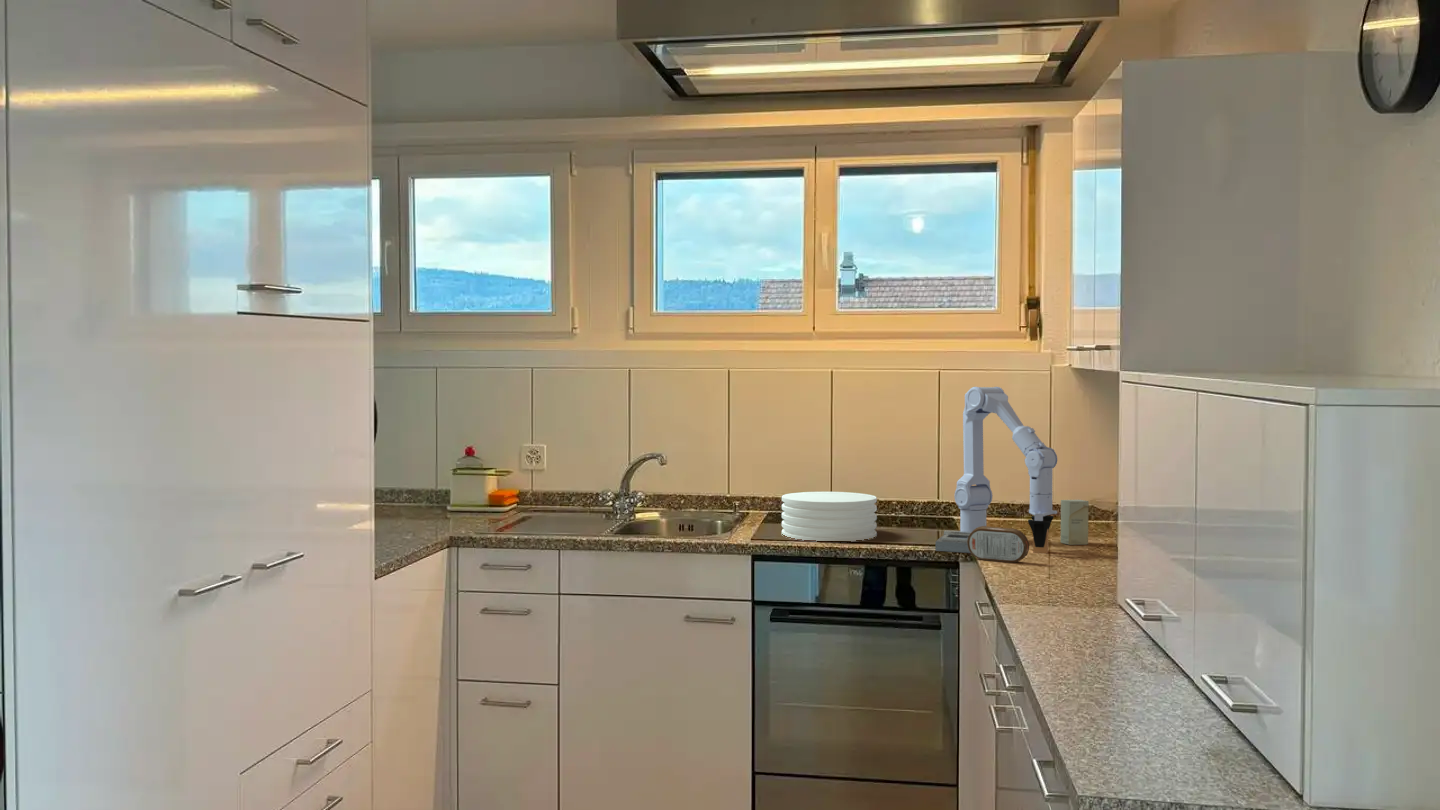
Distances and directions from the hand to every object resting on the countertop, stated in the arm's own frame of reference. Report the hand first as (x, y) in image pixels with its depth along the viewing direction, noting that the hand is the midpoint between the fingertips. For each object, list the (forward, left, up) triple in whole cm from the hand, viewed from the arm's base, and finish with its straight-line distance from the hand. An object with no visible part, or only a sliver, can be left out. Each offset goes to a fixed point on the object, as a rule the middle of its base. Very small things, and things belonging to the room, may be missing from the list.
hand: (1040, 545), depth 255 cm
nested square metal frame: (+3, -21, -2) cm, 21 cm away
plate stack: (-8, -61, -2) cm, 61 cm away
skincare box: (-18, +7, -2) cm, 20 cm away
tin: (+18, -9, -2) cm, 20 cm away
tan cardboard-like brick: (0, 0, -2) cm, 2 cm away
